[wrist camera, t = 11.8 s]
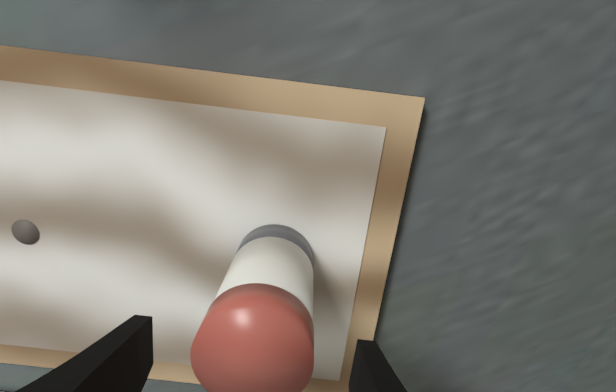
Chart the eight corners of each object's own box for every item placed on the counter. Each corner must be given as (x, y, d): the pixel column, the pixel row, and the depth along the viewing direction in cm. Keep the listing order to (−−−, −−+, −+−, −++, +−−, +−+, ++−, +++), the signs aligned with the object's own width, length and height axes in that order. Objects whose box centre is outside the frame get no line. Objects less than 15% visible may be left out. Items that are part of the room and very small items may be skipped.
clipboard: (358, 390, 22) (362, 416, 20) (-24, 348, 22) (-54, 371, 20) (419, 97, 16) (432, 98, 15) (-95, 33, 16) (-144, 27, 14)
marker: (309, 297, 19) (306, 414, 12) (234, 288, 19) (189, 401, 12) (319, 228, 18) (321, 317, 11) (238, 218, 17) (191, 302, 11)
